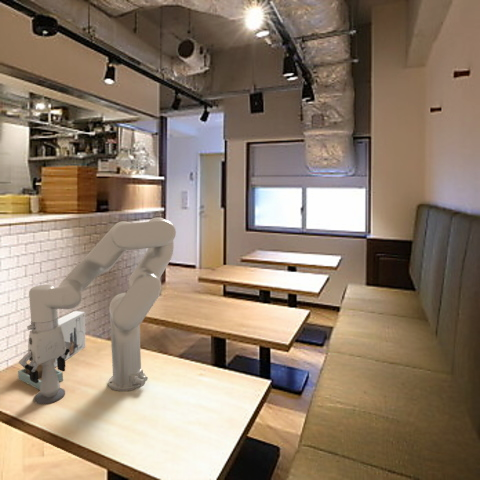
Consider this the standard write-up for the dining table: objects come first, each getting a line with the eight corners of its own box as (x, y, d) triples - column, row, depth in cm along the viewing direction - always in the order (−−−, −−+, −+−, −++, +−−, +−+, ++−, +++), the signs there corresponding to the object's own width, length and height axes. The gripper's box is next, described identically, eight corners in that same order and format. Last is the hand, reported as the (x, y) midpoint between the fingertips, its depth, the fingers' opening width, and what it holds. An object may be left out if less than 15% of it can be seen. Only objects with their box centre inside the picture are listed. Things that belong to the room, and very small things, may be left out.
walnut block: (43, 376, 136) (42, 363, 135) (32, 381, 133) (31, 367, 132) (37, 373, 138) (36, 360, 137) (26, 378, 135) (25, 364, 134)
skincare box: (53, 370, 141) (50, 329, 138) (40, 368, 142) (38, 328, 140) (87, 346, 161) (85, 311, 159) (75, 345, 162) (73, 310, 160)
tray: (63, 380, 133) (62, 372, 133) (40, 390, 126) (40, 382, 126) (40, 370, 140) (40, 362, 140) (18, 379, 134) (18, 371, 133)
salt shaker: (45, 389, 126) (42, 352, 124) (63, 389, 126) (60, 352, 124) (37, 399, 120) (34, 360, 118) (56, 398, 120) (53, 360, 118)
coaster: (70, 394, 124) (70, 392, 124) (44, 407, 117) (44, 405, 117) (54, 386, 129) (54, 384, 129) (28, 398, 121) (28, 397, 121)
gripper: (23, 335, 110) (27, 391, 113) (76, 318, 125) (79, 368, 127) (10, 330, 114) (14, 384, 116) (63, 314, 129) (66, 362, 131)
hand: (48, 375), depth 122 cm, fingers open, 8 cm apart
